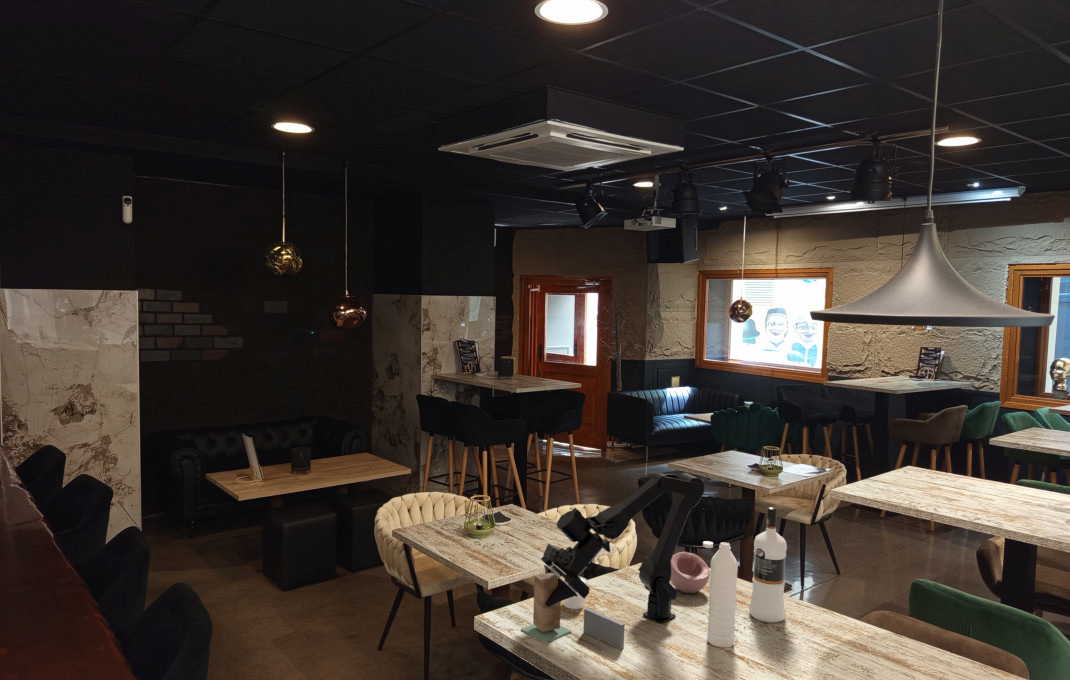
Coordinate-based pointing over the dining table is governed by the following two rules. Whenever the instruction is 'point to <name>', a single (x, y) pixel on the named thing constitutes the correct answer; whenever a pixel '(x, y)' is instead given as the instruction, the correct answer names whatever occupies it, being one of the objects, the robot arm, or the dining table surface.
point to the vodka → (769, 573)
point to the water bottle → (722, 596)
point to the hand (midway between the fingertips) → (542, 601)
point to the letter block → (543, 614)
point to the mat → (545, 633)
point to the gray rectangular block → (604, 628)
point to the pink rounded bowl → (689, 572)
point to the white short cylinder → (575, 599)
